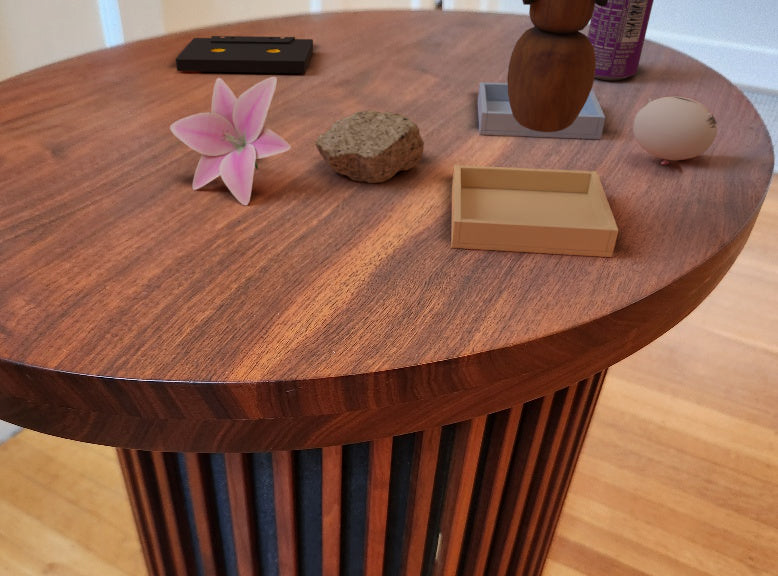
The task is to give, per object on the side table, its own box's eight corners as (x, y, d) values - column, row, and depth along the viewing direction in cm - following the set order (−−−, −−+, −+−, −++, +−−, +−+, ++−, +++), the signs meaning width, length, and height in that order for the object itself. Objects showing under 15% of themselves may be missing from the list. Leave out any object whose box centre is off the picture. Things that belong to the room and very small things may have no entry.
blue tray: (587, 106, 94) (591, 85, 93) (600, 139, 85) (605, 117, 84) (477, 102, 96) (479, 82, 94) (479, 134, 87) (482, 112, 86)
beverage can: (641, 72, 105) (664, -26, 98) (627, 86, 100) (651, -16, 93) (588, 64, 108) (607, -31, 101) (573, 78, 103) (592, -21, 96)
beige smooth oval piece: (715, 165, 79) (735, 99, 75) (690, 183, 76) (711, 115, 72) (640, 146, 84) (656, 83, 79) (614, 162, 80) (629, 96, 76)
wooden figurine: (490, 117, 66) (515, -84, 57) (547, 108, 68) (580, -89, 59) (535, 144, 61) (570, -72, 52) (595, 133, 63) (640, -78, 54)
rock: (368, 117, 84) (405, 68, 77) (410, 182, 83) (451, 138, 76) (297, 142, 79) (330, 92, 72) (340, 211, 78) (378, 167, 71)
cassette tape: (313, 52, 115) (313, 37, 114) (304, 75, 106) (304, 59, 105) (195, 50, 117) (193, 35, 115) (176, 73, 108) (174, 57, 106)
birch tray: (591, 196, 74) (597, 171, 72) (612, 257, 64) (618, 230, 63) (451, 189, 75) (454, 164, 74) (451, 248, 66) (454, 221, 64)
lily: (172, 175, 82) (140, 111, 73) (261, 113, 83) (239, 43, 74) (235, 246, 77) (208, 186, 68) (328, 178, 78) (313, 111, 69)
